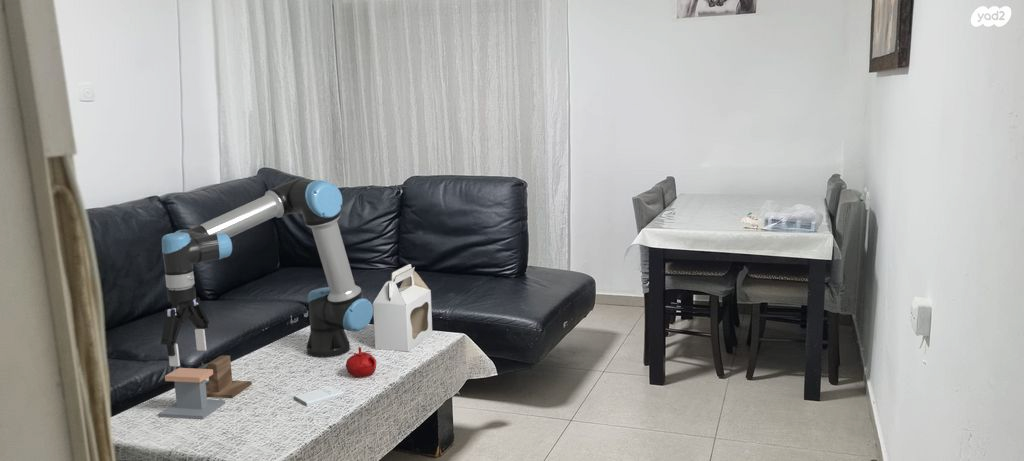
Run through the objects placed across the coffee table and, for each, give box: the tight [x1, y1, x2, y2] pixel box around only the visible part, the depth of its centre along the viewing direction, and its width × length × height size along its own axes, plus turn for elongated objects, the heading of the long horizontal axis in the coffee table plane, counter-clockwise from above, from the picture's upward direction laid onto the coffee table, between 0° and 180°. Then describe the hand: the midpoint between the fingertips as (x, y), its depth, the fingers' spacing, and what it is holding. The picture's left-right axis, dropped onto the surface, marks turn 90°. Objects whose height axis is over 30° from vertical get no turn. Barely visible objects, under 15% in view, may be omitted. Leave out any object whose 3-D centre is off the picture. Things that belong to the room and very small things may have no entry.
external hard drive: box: [293, 385, 345, 407], centre depth 241 cm, size 2×8×12 cm
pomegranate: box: [345, 346, 377, 379], centre depth 259 cm, size 10×10×9 cm
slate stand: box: [157, 379, 226, 420], centre depth 232 cm, size 14×12×10 cm
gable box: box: [372, 263, 433, 353], centre depth 292 cm, size 22×13×28 cm, turn 163°
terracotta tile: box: [164, 367, 213, 383], centre depth 231 cm, size 7×11×2 cm, turn 80°
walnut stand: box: [205, 354, 253, 399], centre depth 248 cm, size 14×12×10 cm
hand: (188, 357), depth 231 cm, fingers open, 13 cm apart
